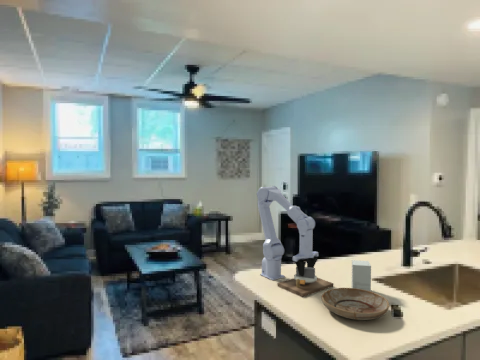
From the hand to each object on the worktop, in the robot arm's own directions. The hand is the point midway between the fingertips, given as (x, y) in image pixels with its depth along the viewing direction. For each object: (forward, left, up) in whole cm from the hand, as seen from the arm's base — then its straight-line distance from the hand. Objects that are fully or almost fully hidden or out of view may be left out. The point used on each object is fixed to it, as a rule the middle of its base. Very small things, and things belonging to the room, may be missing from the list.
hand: (305, 274), depth 147 cm
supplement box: (+18, +15, -6) cm, 24 cm away
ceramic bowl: (+28, -4, -6) cm, 29 cm away
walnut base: (0, 0, -5) cm, 5 cm away
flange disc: (0, -1, -2) cm, 2 cm away
